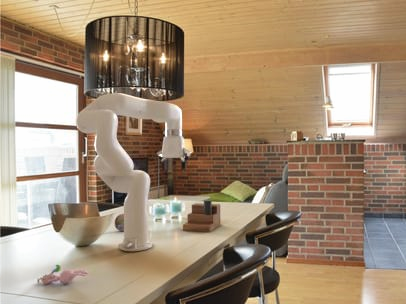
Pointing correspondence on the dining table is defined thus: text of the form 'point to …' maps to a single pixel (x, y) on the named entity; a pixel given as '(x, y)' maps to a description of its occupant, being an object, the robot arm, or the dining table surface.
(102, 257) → the dining table surface
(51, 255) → the dining table surface
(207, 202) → the cylinder
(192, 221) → the step rack
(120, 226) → the tin
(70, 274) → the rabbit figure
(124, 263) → the dining table surface
